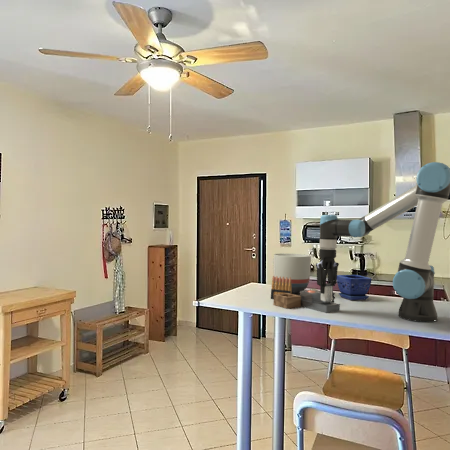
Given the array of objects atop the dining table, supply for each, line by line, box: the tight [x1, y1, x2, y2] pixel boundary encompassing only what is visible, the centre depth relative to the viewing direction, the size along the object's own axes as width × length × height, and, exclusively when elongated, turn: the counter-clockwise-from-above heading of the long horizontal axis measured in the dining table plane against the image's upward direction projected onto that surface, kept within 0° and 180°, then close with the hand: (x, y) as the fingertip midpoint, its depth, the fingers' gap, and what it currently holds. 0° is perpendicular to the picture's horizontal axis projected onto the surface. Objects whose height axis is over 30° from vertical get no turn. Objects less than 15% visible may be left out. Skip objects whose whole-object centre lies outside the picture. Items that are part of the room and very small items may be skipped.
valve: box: [309, 288, 336, 303], centre depth 200 cm, size 7×7×12 cm
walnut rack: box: [272, 293, 301, 310], centre depth 191 cm, size 9×9×5 cm
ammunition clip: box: [270, 275, 292, 300], centre depth 206 cm, size 11×2×12 cm, turn 65°
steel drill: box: [323, 282, 331, 305], centre depth 184 cm, size 3×3×12 cm
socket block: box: [299, 289, 341, 314], centre depth 188 cm, size 18×9×7 cm, turn 35°
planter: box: [273, 253, 312, 295], centre depth 225 cm, size 20×20×21 cm
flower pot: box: [336, 274, 372, 301], centre depth 214 cm, size 13×13×12 cm
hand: (326, 300), depth 184 cm, fingers closed on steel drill, 3 cm apart
